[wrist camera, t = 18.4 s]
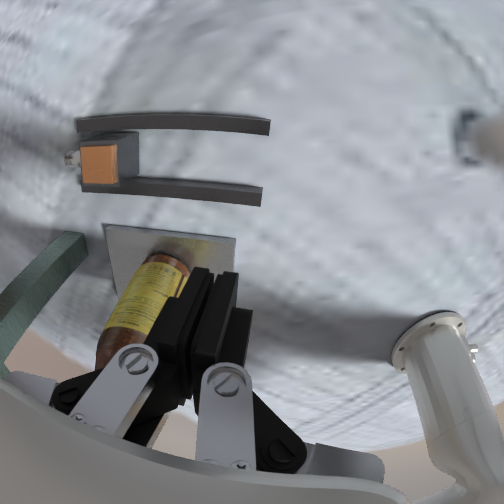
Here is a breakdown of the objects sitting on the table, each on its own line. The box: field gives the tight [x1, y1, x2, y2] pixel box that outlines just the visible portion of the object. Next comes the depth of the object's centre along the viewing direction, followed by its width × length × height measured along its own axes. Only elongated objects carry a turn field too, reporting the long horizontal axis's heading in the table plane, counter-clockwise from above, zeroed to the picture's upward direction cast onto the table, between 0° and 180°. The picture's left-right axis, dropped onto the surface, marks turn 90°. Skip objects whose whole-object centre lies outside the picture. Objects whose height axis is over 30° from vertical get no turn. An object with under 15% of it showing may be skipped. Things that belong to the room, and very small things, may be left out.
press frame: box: [0, 114, 271, 380], centre depth 20 cm, size 24×22×19 cm
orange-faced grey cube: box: [65, 132, 139, 187], centre depth 22 cm, size 7×4×4 cm, turn 84°
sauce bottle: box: [95, 254, 190, 371], centre depth 21 cm, size 6×6×20 cm
